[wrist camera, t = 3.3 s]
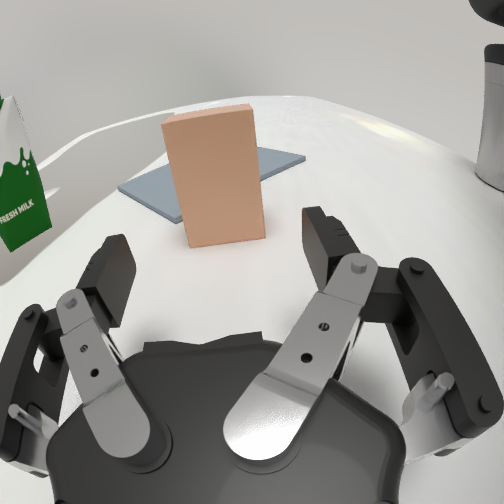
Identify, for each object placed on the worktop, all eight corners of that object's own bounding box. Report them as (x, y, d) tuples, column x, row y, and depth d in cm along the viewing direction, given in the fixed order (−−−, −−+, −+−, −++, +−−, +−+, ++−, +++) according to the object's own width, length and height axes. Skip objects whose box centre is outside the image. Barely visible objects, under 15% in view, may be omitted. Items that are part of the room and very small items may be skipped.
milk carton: (5, 259, 25) (-48, 111, 13) (7, 235, 31) (-34, 114, 19) (59, 225, 30) (15, 76, 18) (51, 208, 35) (16, 87, 24)
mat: (227, 145, 46) (226, 141, 46) (305, 160, 37) (305, 156, 36) (118, 190, 36) (117, 186, 36) (176, 223, 26) (174, 218, 26)
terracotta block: (265, 238, 23) (252, 109, 17) (190, 248, 23) (161, 124, 17) (260, 216, 26) (248, 103, 20) (193, 225, 26) (170, 115, 20)
